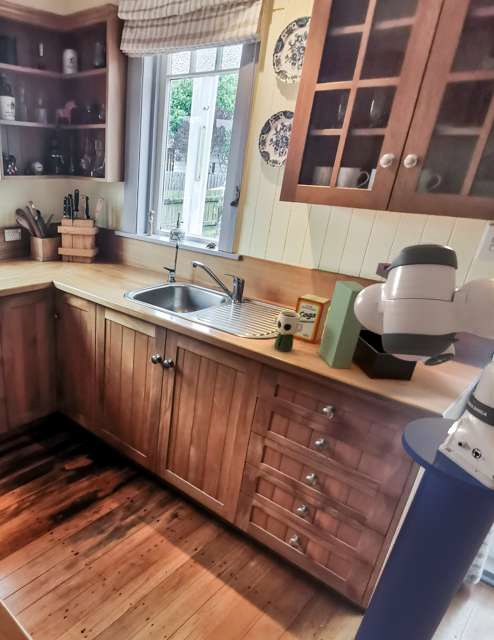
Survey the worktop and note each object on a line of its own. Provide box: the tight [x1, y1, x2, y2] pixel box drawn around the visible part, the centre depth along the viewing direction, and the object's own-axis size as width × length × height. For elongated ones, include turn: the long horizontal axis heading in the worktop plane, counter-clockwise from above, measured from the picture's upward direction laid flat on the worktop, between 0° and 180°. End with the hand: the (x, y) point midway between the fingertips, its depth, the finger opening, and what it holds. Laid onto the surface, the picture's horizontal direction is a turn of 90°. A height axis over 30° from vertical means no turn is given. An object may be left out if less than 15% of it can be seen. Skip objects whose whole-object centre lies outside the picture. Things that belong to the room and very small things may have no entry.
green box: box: [318, 280, 366, 369], centre depth 153 cm, size 12×6×26 cm, turn 178°
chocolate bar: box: [375, 262, 391, 280], centre depth 143 cm, size 18×4×4 cm, turn 179°
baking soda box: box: [293, 293, 332, 345], centre depth 173 cm, size 10×6×16 cm
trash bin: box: [351, 328, 418, 381], centre depth 155 cm, size 22×13×9 cm, turn 178°
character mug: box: [273, 310, 303, 352], centre depth 163 cm, size 11×7×13 cm, turn 40°
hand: (405, 280), depth 138 cm, fingers closed on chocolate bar, 3 cm apart
